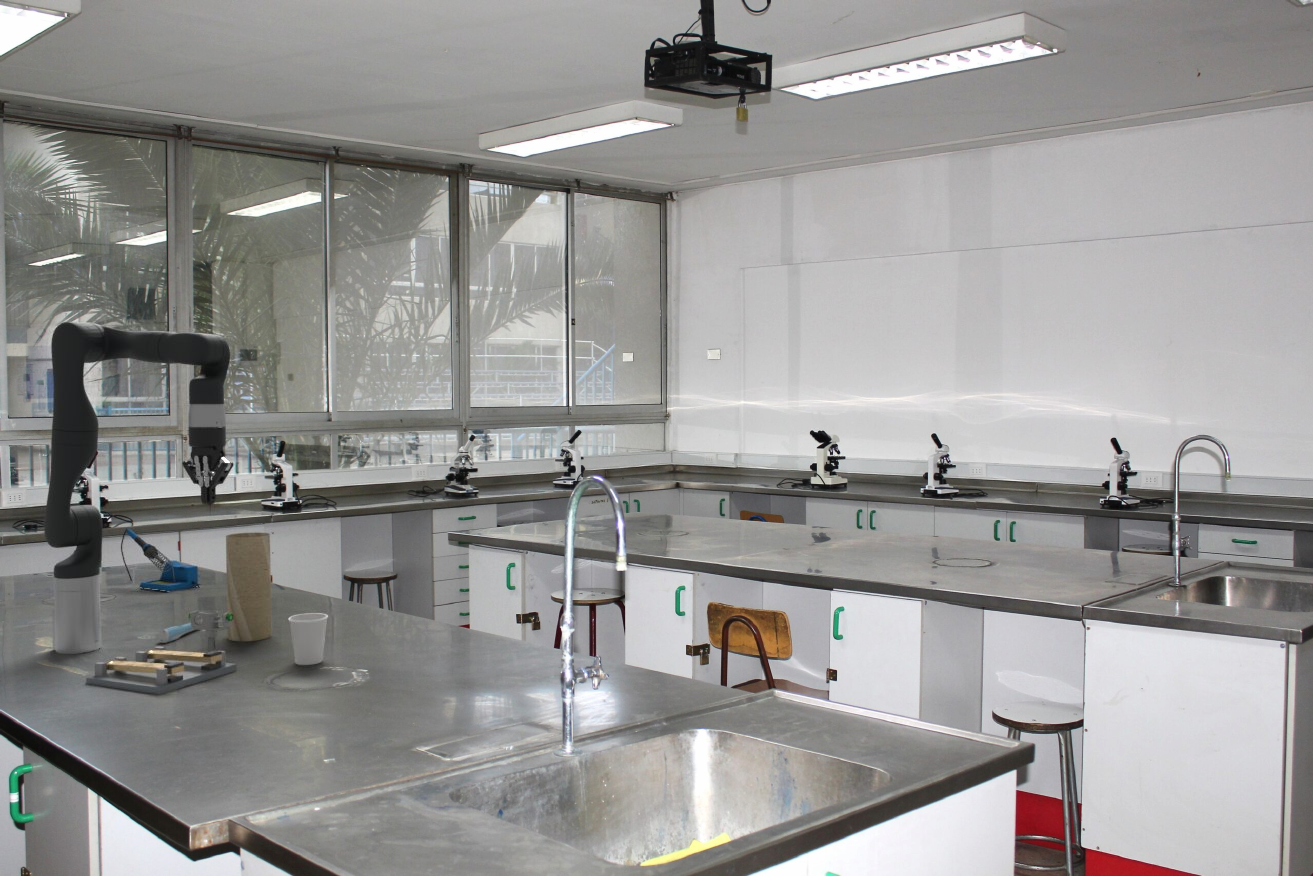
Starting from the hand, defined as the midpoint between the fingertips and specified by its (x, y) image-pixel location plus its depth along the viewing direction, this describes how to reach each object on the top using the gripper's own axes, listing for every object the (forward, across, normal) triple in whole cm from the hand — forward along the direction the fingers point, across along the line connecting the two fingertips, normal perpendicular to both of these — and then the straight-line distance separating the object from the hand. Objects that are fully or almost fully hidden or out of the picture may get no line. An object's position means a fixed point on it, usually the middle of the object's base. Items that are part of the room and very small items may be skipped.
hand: (208, 503), depth 230 cm
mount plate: (+35, +1, -14) cm, 38 cm away
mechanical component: (+35, -4, +4) cm, 36 cm away
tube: (+35, -10, +22) cm, 43 cm away
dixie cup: (+35, +20, +8) cm, 41 cm away
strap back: (+32, -8, -9) cm, 34 cm away
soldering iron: (+36, -84, +76) cm, 119 cm away
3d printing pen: (+39, -28, +22) cm, 52 cm away
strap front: (+32, -8, -19) cm, 38 cm away
